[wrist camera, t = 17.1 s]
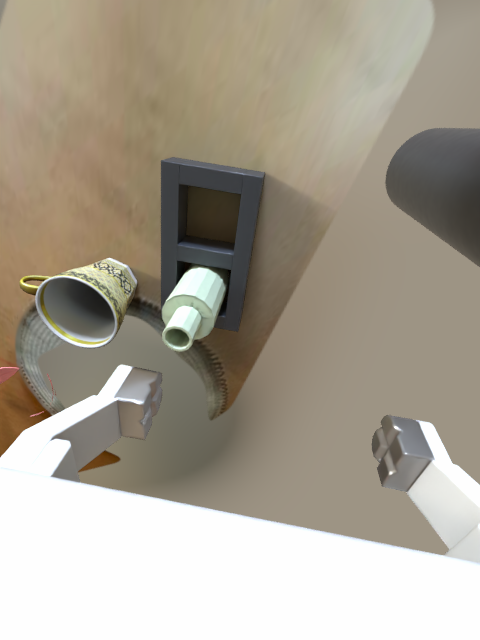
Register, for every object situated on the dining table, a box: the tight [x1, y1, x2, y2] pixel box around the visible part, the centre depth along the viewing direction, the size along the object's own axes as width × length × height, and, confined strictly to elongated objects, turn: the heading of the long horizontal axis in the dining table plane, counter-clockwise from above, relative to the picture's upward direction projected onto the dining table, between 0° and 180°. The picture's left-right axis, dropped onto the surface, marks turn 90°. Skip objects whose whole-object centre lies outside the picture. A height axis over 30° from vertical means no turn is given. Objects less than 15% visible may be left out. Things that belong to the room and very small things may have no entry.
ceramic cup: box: [20, 258, 137, 348], centre depth 41 cm, size 13×10×10 cm
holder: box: [161, 157, 265, 332], centre depth 40 cm, size 11×20×4 cm, turn 172°
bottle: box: [162, 263, 229, 352], centre depth 37 cm, size 6×6×15 cm
